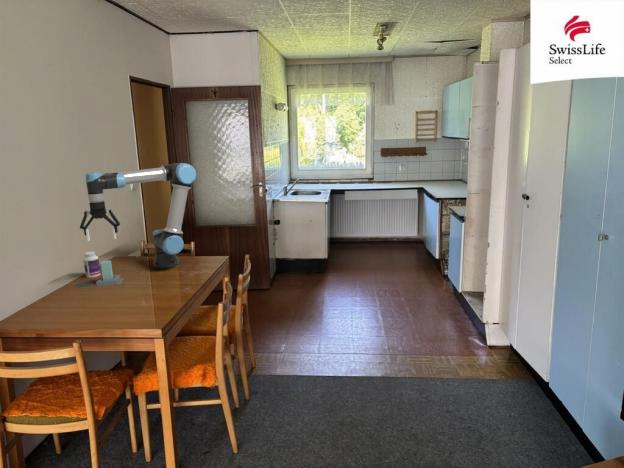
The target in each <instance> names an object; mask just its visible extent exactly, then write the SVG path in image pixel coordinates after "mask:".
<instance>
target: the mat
mask: <svg viewBox="0 0 624 468" xmlns="http://www.w3.org/2000/svg"><path fill="white" fill-rule="evenodd" d="M94 283H96V282H95V280H93V281H92V280H91V281H85V282H82V281H81V282H77V283H76V284H75V286H74V287H73V288H74V289H77V288H86V287H93V284H94Z"/></svg>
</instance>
